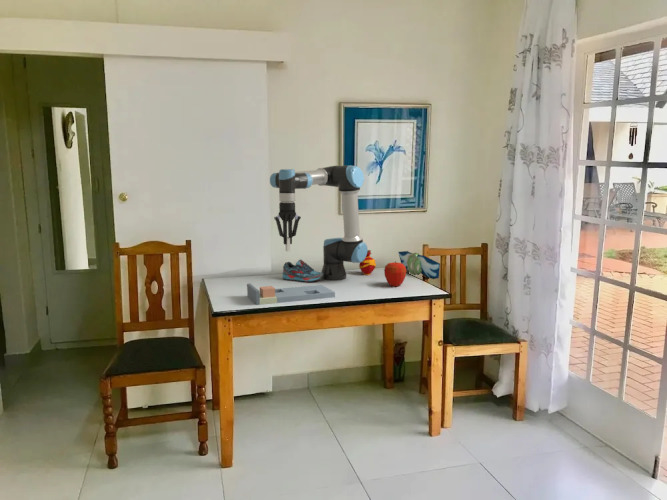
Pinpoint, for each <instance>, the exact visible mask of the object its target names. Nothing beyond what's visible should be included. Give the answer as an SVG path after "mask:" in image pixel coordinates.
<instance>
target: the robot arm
mask: <svg viewBox="0 0 667 500" xmlns="http://www.w3.org/2000/svg"><path fill="white" fill-rule="evenodd" d="M364 177H365V176H364V172H363V171H362V169H361V168H360V167H359V166H357V165H331V166H326V167H318V168H317V169H316V170H315V169H314V170H304V171H303V170H300V171H295V169H292V168H287V169H286V168H285V169H282V168H281V169H279V171H278V172H273V173H272V174H271V175H270V177H269V184H270V186H271V187H272V188H276V189H278V190H279V191H278V192H279V193H278V198H279V206H278V208H279V211H278V215H277V216H274V217H273V218H274V220H275V223H276V226H277V230H278V235H279V236H280V237H281V238H282V239H283V245H285V252H291V245H292V244H293V237H295V236H296V235H297V230H298V226H299V222H300V220H301V216H300V215H298V214H297V212H296V203H295V202H296V190H300V189H301V190H302V189H303V190H306V189H309V188H310V187H312V185H313V186H314V185H318V186H322V187H323V186H324V187H334V188H338V192H339V193H340V194H341V201H342V219H343V232H344V233H343V234H344V237H331V238H326V239H324V240H323V246H322V247H323V264H322V268H321V271H320V272H323V274H324V277H323V278H322V279H321V280H330V281H335V280H336V281H337V280H345V279H347V271H346V268H345V265H344V262H346V263H347V262H348V263H354V264H355V263H356V264H360V262H362V261H363V260H364V259H365V257H366V255H367V250H369V249H368V245H367V244H366V242H364V240H363V237H362V236H361V234H360V219H359V218H360V217H359V215H360V214H359V197H358V193H359V192H360V191H361V187H362V186H364V185H363V184H364V181H365V178H364ZM280 220H281V221H282V224H281V221H280ZM293 221H294V222H293Z"/></svg>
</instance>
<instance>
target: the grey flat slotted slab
mask: <svg viewBox="0 0 667 500" xmlns="http://www.w3.org/2000/svg"><path fill="white" fill-rule="evenodd" d="M246 285H247V286H246V289H247V290H246V291H247V292H246V293H247V297H248V299H250V300H251V301H252V302H253V303H254V304H255V305H260V306H261V305H268V304H269V305H270V304H278V303H287V302H288V303H289V302H299V301H309V300H318V299H328V298H335V297H336V291H334V290H332V289H330V288H328V287H327V286H325V285H323V284H317V285H305V286H295V287H283V288H281V287H280V288H275V297H266V298H263V297H262V296H260V289H258V288H257V287H255V285H253V284H252V283H251V282H249V283H247V284H246Z"/></svg>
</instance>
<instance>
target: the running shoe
mask: <svg viewBox="0 0 667 500" xmlns="http://www.w3.org/2000/svg"><path fill="white" fill-rule="evenodd" d="M282 268H283V269H282V270H283V271H282V280H283V279H284V280H286V281H291V282H293V281H295V282H300V283H314V282H317V281H320V280H323V279H322V278H323V277H324V274H323V272H321V271H315V269H314V268H313V267H311V266H310V265H309V264H308V263H306V262H305V261H303V259H301V258H300V259H298V260H297V262H295V264H293V263H292V262H291V261H287V262H284V264H283V267H282Z"/></svg>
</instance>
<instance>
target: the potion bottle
mask: <svg viewBox="0 0 667 500" xmlns="http://www.w3.org/2000/svg"><path fill="white" fill-rule="evenodd" d="M371 251H372V250H370V249H368V250H367V255H366V257H365V259H364V260H363V261H362V262H360V263H358V264H359V265H358V267H359V268H358V269H360V271H361V272H362V273H363V275H364V276H370V275H371V274H372V272H373V271H375V269H376V266H377V263H376V262H377V260H375V258H372V257H371V254H372V252H371Z"/></svg>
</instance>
